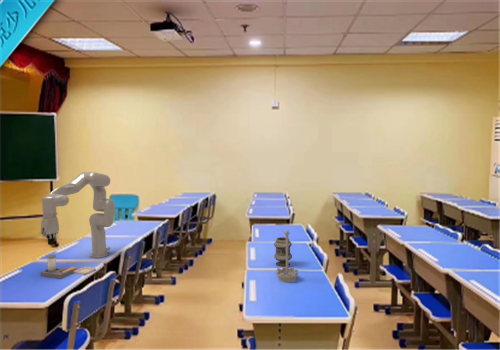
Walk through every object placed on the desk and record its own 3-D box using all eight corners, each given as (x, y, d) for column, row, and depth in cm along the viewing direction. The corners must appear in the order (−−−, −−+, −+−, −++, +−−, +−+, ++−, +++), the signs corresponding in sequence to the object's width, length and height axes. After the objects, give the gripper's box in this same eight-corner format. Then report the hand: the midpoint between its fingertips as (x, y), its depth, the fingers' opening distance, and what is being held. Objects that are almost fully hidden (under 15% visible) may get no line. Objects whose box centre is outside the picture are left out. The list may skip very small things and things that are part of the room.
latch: (73, 270, 244) (73, 266, 244) (76, 270, 243) (76, 267, 243) (61, 275, 235) (60, 271, 234) (64, 275, 234) (64, 272, 233)
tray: (84, 269, 247) (84, 266, 247) (95, 270, 244) (95, 268, 244) (73, 273, 239) (73, 271, 238) (85, 275, 235) (84, 273, 235)
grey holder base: (54, 271, 243) (53, 267, 243) (73, 274, 238) (73, 269, 237) (40, 276, 233) (40, 272, 233) (60, 279, 228) (60, 275, 228)
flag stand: (297, 283, 219) (297, 233, 216) (274, 282, 222) (274, 232, 219) (298, 275, 232) (298, 228, 229) (277, 274, 234) (277, 227, 231)
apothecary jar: (270, 263, 256) (270, 237, 254) (286, 260, 261) (286, 235, 259) (279, 268, 245) (279, 241, 243) (295, 265, 250) (295, 239, 248)
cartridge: (52, 272, 240) (52, 254, 239) (58, 273, 238) (57, 255, 237) (46, 274, 236) (45, 256, 235) (51, 275, 234) (51, 257, 233)
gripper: (54, 213, 242) (56, 241, 244) (34, 217, 228) (36, 247, 229) (63, 214, 240) (65, 242, 241) (44, 218, 225) (45, 248, 227)
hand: (51, 244), depth 235 cm, fingers closed
